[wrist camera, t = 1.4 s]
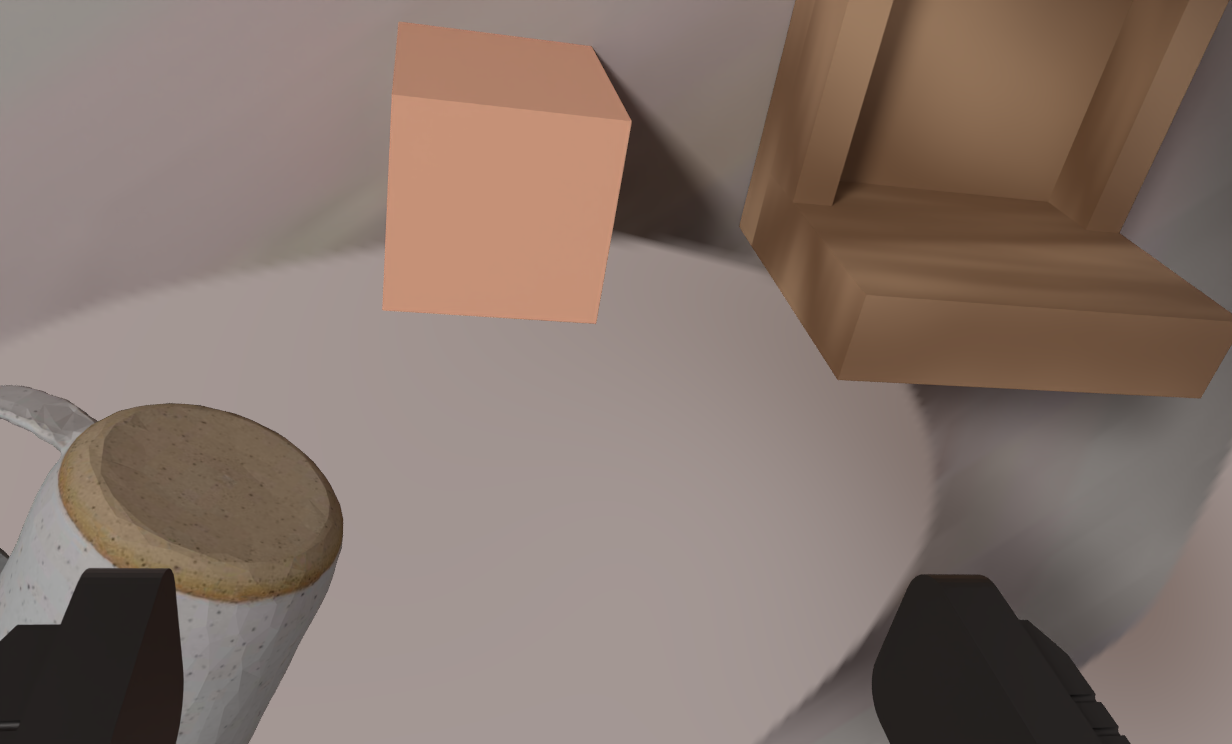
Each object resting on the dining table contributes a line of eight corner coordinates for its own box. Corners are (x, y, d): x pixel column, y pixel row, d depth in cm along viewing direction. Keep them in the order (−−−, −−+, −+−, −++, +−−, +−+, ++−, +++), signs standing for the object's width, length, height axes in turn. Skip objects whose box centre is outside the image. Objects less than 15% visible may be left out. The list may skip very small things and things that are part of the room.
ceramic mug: (370, 437, 28) (349, 639, 22) (271, 624, 32) (227, 847, 25) (-34, 298, 24) (-205, 495, 18) (-99, 528, 28) (-263, 764, 21)
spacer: (398, 20, 22) (391, 94, 18) (591, 45, 23) (631, 121, 19) (390, 203, 25) (382, 310, 20) (565, 219, 26) (596, 323, 21)
